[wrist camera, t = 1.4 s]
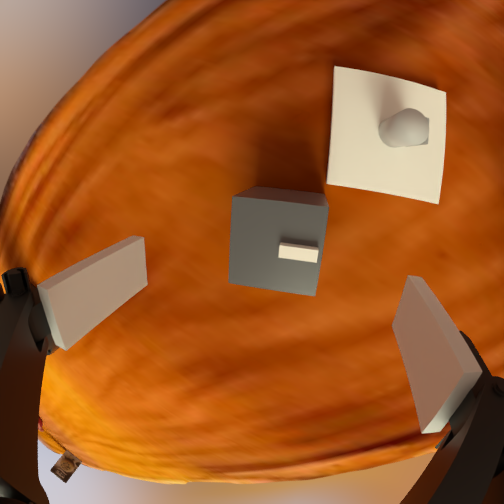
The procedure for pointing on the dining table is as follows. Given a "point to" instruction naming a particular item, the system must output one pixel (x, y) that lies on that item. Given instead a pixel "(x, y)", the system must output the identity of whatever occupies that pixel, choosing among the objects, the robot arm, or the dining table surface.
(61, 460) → the coffee box
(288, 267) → the grey rectangular block
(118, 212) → the dining table surface
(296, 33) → the dining table surface
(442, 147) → the white peg base
